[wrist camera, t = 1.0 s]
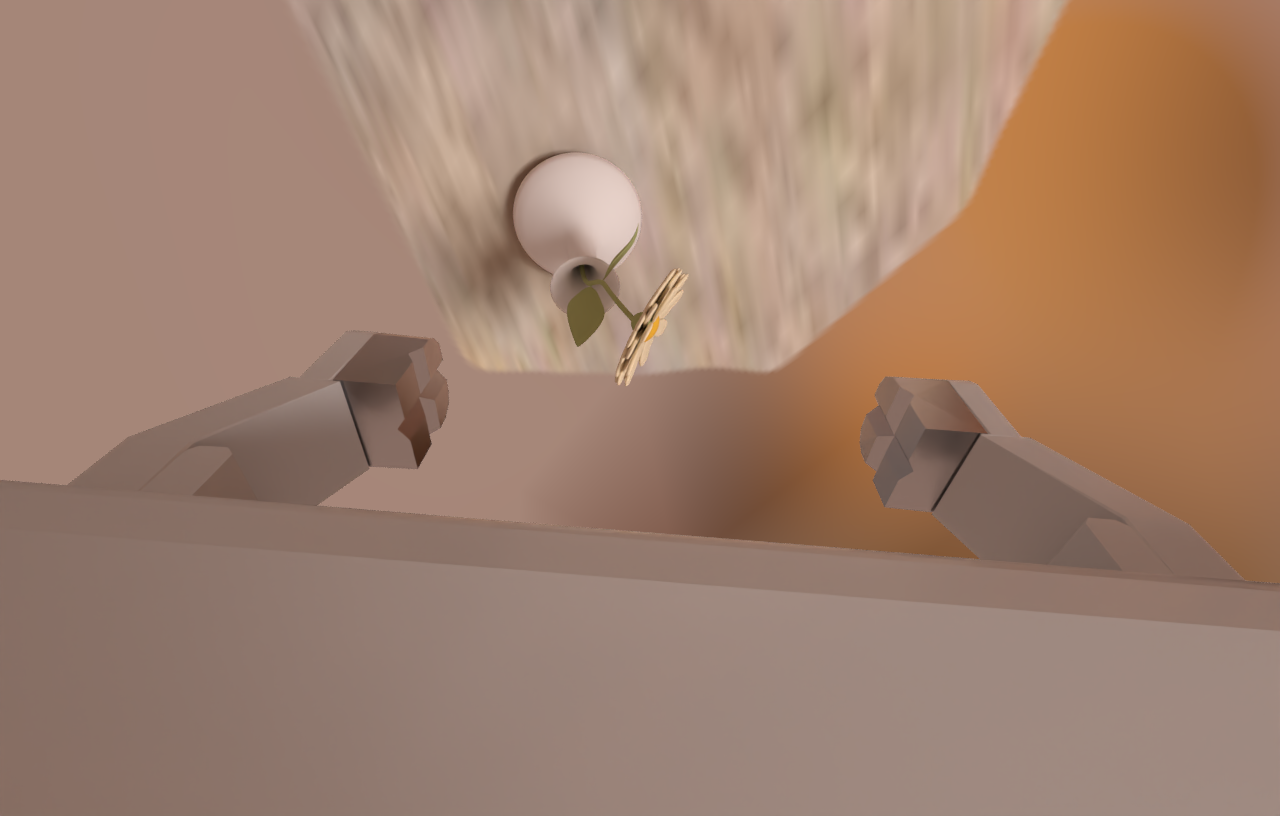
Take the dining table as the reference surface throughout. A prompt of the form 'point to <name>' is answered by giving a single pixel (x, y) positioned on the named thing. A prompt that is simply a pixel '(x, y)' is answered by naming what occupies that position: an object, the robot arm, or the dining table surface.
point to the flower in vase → (590, 246)
